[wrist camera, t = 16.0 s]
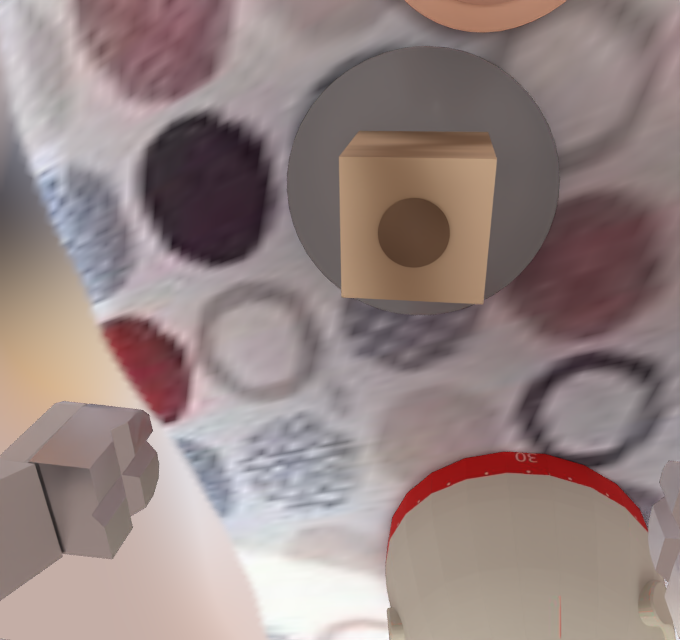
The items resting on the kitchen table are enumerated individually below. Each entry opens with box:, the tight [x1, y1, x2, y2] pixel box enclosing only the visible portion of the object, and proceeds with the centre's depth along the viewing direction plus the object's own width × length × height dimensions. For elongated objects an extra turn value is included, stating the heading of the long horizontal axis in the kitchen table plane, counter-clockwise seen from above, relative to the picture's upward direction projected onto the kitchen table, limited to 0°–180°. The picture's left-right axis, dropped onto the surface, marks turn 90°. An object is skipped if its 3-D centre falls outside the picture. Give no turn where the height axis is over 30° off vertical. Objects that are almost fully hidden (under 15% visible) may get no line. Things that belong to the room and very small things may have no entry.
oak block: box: [339, 131, 497, 304], centre depth 23 cm, size 5×5×5 cm
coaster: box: [287, 46, 560, 315], centre depth 25 cm, size 11×11×1 cm
